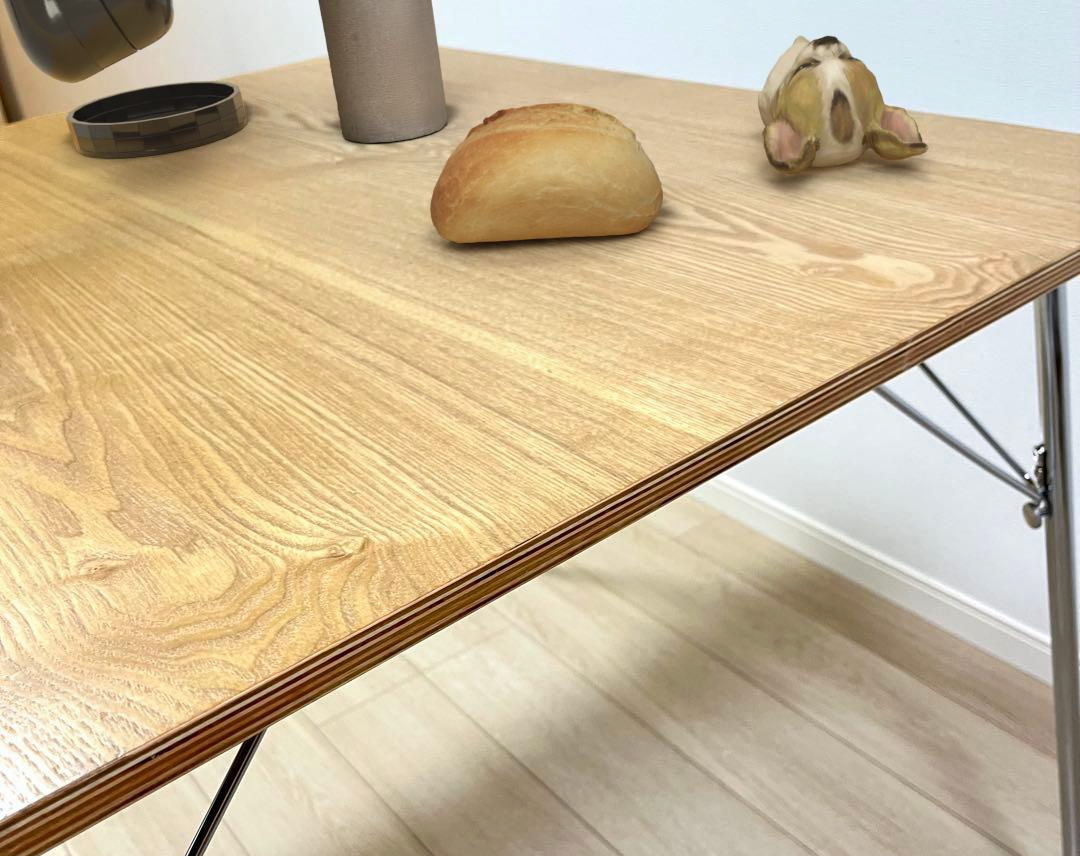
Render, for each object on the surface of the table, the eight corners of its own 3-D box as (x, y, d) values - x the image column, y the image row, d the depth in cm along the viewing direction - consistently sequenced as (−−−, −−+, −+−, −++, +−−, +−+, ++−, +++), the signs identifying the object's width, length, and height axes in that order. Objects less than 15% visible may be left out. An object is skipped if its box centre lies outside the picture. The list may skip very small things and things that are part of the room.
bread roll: (438, 224, 79) (420, 104, 75) (653, 200, 79) (648, 79, 75) (433, 273, 71) (413, 142, 67) (673, 247, 71) (668, 114, 67)
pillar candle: (321, 135, 104) (285, -49, 95) (407, 110, 109) (380, -67, 100) (384, 150, 97) (351, -46, 89) (472, 122, 102) (448, -66, 94)
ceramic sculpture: (871, 3, 84) (947, 55, 72) (863, 123, 89) (933, 190, 77) (728, 22, 84) (780, 77, 72) (728, 140, 89) (777, 210, 77)
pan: (69, 168, 102) (58, 134, 101) (83, 128, 116) (74, 97, 114) (250, 139, 105) (242, 105, 103) (244, 103, 118) (237, 73, 117)
